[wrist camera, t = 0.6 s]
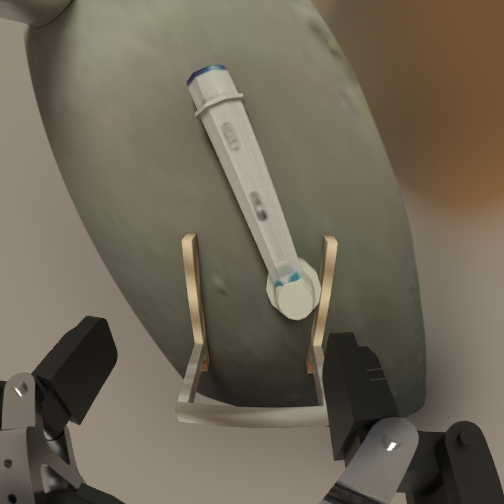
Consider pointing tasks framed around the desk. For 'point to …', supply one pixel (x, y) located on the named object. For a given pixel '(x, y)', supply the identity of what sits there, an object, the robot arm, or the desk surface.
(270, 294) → the white electric toothbrush
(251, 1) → the desk surface
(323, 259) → the tan holder stand
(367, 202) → the desk surface
